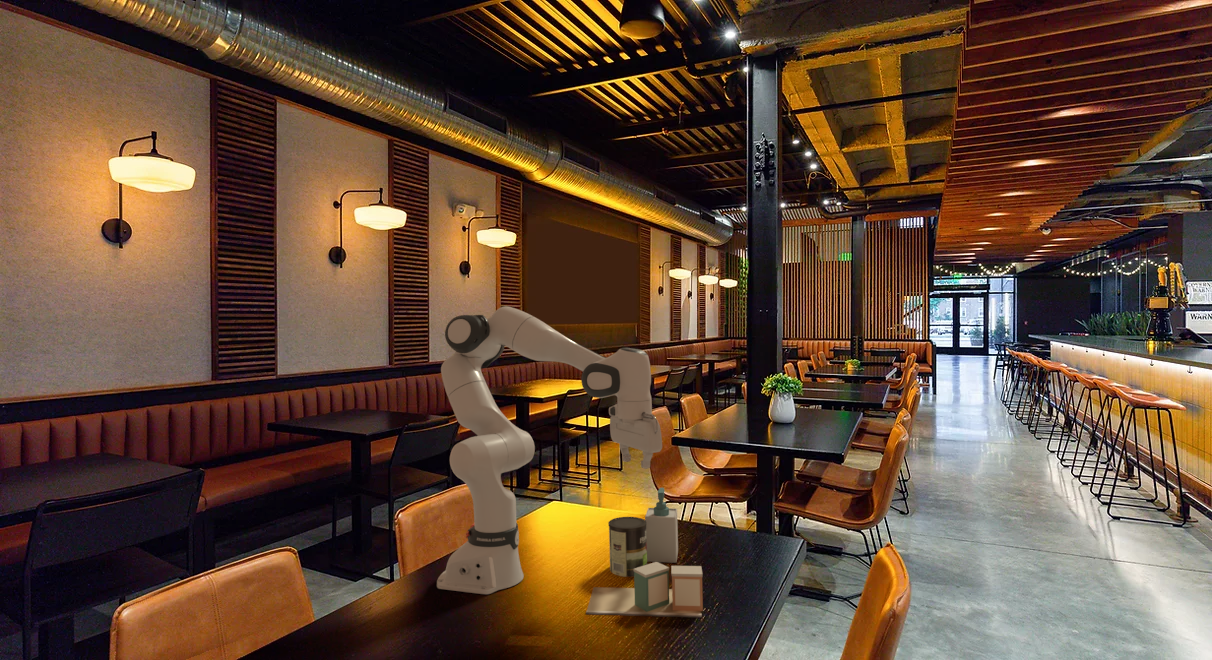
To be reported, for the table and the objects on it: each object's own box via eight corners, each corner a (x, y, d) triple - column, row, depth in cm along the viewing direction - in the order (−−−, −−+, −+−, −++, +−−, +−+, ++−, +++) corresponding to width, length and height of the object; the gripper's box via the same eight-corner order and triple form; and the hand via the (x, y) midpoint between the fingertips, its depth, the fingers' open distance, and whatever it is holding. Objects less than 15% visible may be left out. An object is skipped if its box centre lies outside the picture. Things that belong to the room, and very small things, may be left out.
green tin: (634, 604, 137) (633, 568, 137) (657, 596, 141) (656, 561, 141) (646, 612, 133) (646, 575, 133) (670, 603, 137) (669, 567, 137)
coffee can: (650, 568, 162) (648, 516, 162) (645, 583, 152) (643, 529, 152) (613, 565, 164) (612, 515, 164) (606, 581, 154) (604, 527, 154)
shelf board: (586, 620, 133) (585, 612, 133) (593, 593, 147) (593, 586, 147) (702, 624, 130) (701, 615, 130) (698, 595, 144) (698, 588, 144)
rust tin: (672, 601, 138) (671, 565, 139) (702, 602, 138) (701, 566, 138) (672, 610, 134) (671, 573, 134) (703, 611, 133) (702, 574, 133)
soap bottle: (678, 551, 174) (676, 487, 174) (676, 563, 165) (674, 495, 165) (649, 550, 175) (647, 486, 175) (646, 561, 167) (644, 494, 167)
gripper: (667, 414, 144) (669, 470, 143) (625, 406, 162) (626, 456, 162) (645, 416, 141) (647, 474, 141) (605, 407, 159) (606, 459, 159)
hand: (635, 464), depth 151 cm, fingers open, 8 cm apart
